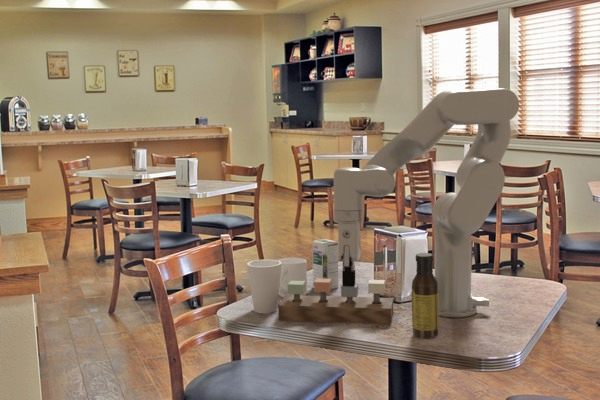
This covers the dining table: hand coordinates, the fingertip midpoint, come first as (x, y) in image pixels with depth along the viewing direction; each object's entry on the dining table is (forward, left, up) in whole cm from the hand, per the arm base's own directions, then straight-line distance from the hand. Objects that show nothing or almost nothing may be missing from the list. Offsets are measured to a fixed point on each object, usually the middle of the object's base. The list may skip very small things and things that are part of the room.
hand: (348, 285), depth 194 cm
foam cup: (+23, -4, -9) cm, 25 cm away
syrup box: (+10, -29, -9) cm, 32 cm away
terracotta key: (+7, 0, -5) cm, 8 cm away
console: (+3, 0, -9) cm, 9 cm away
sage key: (+14, 0, -5) cm, 15 cm away
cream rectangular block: (-7, 0, -5) cm, 8 cm away
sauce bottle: (-20, +13, -9) cm, 25 cm away
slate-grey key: (0, 0, -6) cm, 6 cm away
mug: (+19, -18, -9) cm, 28 cm away
